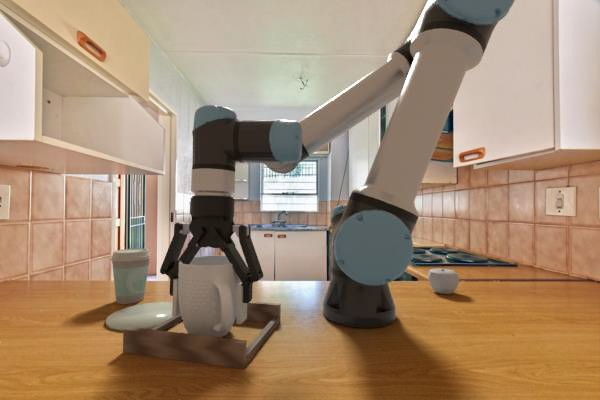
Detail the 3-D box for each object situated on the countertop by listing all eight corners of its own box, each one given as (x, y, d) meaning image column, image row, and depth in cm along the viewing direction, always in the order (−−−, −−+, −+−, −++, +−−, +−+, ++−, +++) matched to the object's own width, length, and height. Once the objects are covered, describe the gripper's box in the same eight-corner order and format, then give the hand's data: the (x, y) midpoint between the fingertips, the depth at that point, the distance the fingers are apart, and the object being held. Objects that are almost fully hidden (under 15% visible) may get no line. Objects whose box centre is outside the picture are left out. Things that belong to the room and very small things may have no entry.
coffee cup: (121, 308, 65) (122, 254, 66) (102, 301, 70) (103, 251, 70) (157, 298, 73) (158, 250, 73) (138, 293, 77) (139, 247, 78)
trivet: (201, 307, 66) (201, 305, 66) (155, 335, 52) (155, 331, 52) (144, 302, 70) (144, 299, 70) (85, 326, 55) (85, 323, 55)
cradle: (280, 321, 59) (280, 303, 59) (243, 369, 41) (243, 343, 41) (190, 312, 63) (191, 296, 63) (122, 352, 46) (123, 329, 46)
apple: (462, 292, 81) (462, 268, 81) (456, 298, 75) (456, 272, 75) (431, 287, 86) (431, 264, 86) (423, 293, 80) (423, 268, 80)
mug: (260, 345, 48) (261, 265, 49) (190, 364, 42) (192, 272, 43) (228, 317, 61) (229, 253, 61) (171, 328, 55) (172, 257, 55)
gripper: (283, 196, 54) (280, 317, 53) (168, 195, 59) (164, 304, 59) (269, 194, 47) (266, 333, 46) (140, 193, 52) (135, 317, 51)
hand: (209, 317), depth 52 cm, fingers closed on mug, 12 cm apart
